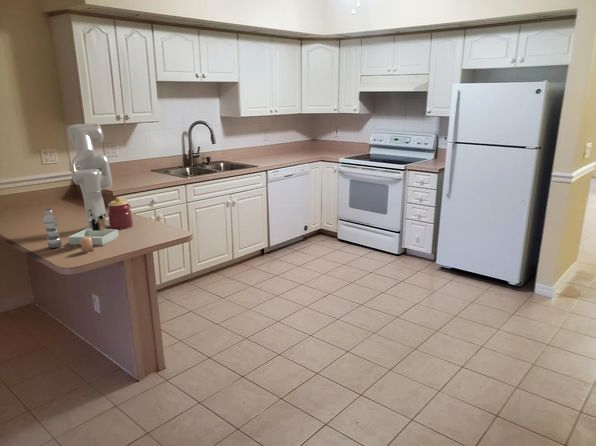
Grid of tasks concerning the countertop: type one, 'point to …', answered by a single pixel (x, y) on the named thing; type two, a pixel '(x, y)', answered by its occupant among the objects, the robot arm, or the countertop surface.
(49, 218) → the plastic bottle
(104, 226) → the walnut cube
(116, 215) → the canister
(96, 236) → the box
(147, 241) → the countertop surface
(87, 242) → the tan rounded-top part
